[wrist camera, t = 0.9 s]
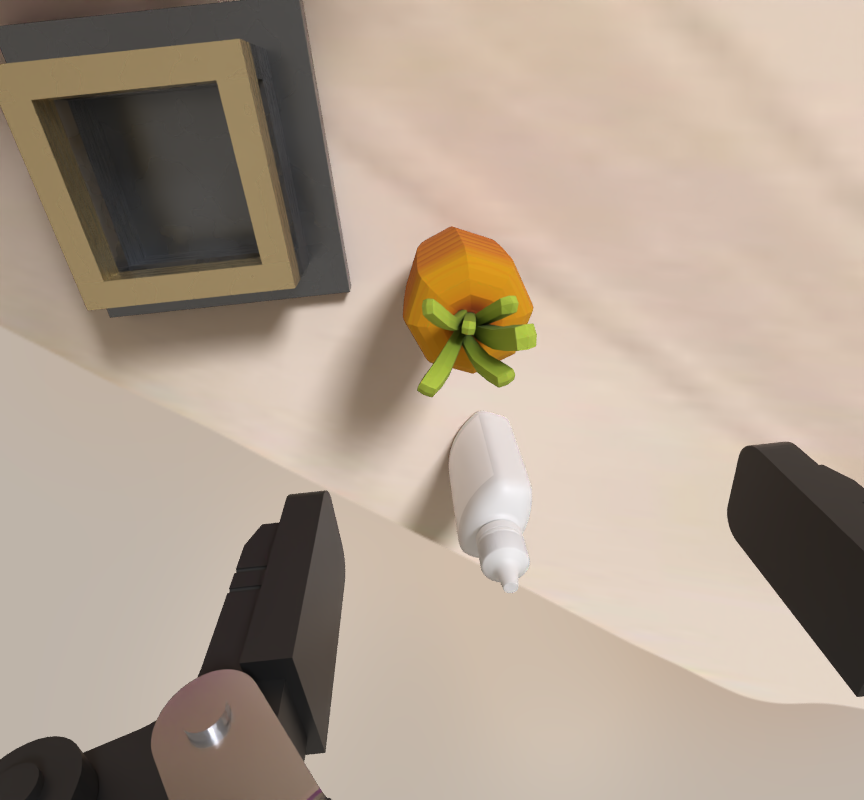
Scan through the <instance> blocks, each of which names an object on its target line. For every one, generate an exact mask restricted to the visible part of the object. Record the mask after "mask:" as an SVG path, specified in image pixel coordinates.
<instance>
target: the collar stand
mask: <svg viewBox="0 0 864 800" xmlns="http://www.w3.org/2000/svg"><path fill="white" fill-rule="evenodd" d="M0 48H1V51H2V53H3V56H4V58H5V61H6V63H7V64H0V106H1V108H2V111H3V113H4V115H5V118H6V120H7V122H8V125H9V127H10V129H11V132H12V134H13V137H14V139H15V141H16V144H17V146H18V148H19V151H20V153H21V155H22V158H23V160H24V162H25V165H26V167H27V169H28V172H29V174H30V176H31V179H32V181H33V183H34V186H35V188H36V191H37V193H38V195H39V198H40V200H41V202H42V205H43V207H44V209H45V212H46V214H47V216H48V219H49V221H50V223H51V226H52V228H53V230H54V233H55V235H56V237H57V240H58V242H59V244H60V247H61V249H62V252H63V254H64V256H65V259H66V261H67V263H68V266H69V268H70V270H71V273H72V275H73V277H74V280H75V282H76V284H77V287H78V289H79V291H80V294H81V296H82V298H83V301H84V303H85V306H86V308H87V310H97V309H107V311H108V313H109V316H110V318H111V317H120V316H129V315H139V314H148V313H157V312H167V311H176V310H185V309H195V308H204V307H213V306H223V305H232V304H241V303H251V302H260V301H269V300H279V299H288V298H297V297H307V296H316V295H325V294H335V293H344V292H350V289H351V282H350V277H349V271H348V265H347V259H346V253H345V247H344V241H343V236H342V230H341V224H340V218H339V212H338V206H337V200H336V195H335V189H334V183H333V177H332V171H331V165H330V159H329V154H328V148H327V142H326V136H325V130H324V124H323V118H322V113H321V107H320V101H319V95H318V89H317V83H316V77H315V72H314V66H313V60H312V54H311V48H310V42H309V36H308V31H307V25H306V19H305V13H304V7H303V1H302V0H240V1H231V2H221V3H212V4H202V5H193V6H184V7H174V8H165V9H155V10H146V11H137V12H127V13H118V14H108V15H99V16H90V17H80V18H71V19H61V20H52V21H43V22H33V23H24V24H14V25H5V26H0Z"/></svg>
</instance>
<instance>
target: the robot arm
mask: <svg viewBox="0 0 864 800" xmlns="http://www.w3.org/2000/svg"><path fill="white" fill-rule="evenodd" d="M727 517H728V523H729V527H730V530H731V532H732V534H733V536H734V538H735V539H736V541H737V542H738V544H739V545H740V546H741V547H742V549H743V550H744V551H745V553H746V554H747V555H748V557H749V558H750V559H751V560H752V562H753V563H754V564H755V566H756V567H757V568H758V569H759V571H760V572H761V573H762V575H763V576H764V577H765V579H766V580H767V581H768V582H769V584H770V585H771V586H772V588H773V589H774V590H775V592H776V593H777V594H778V595H779V597H780V598H781V599H782V601H783V602H784V603H785V604H786V606H787V607H788V608H789V610H790V611H791V612H792V614H793V615H794V616H795V617H796V619H797V620H798V621H799V623H800V624H801V625H802V627H803V628H804V629H805V630H806V632H807V633H808V634H809V636H810V637H811V638H812V639H813V641H814V642H815V643H816V645H817V646H818V647H819V649H820V650H821V651H822V652H823V654H824V655H825V656H826V658H827V659H828V660H829V661H830V663H831V664H832V665H833V667H834V668H835V669H836V671H837V672H838V673H839V674H840V676H841V677H842V678H843V680H844V681H845V682H846V684H847V685H848V686H849V687H850V689H851V690H852V691H853V693H854V694H855V695H856V696H857V697H862V696H864V488H863V487H862V486H860V485H859V484H858V483H857V482H856V481H854V480H852V479H850V478H848V477H846V476H844V475H842V474H840V473H838V472H836V471H834V470H832V469H830V468H828V467H827V466H825V465H818V464H817V463H816V462H815V461H814V460H812V459H811V458H810V457H809V456H808V455H807V454H805V453H804V452H803V451H802V450H801V449H800V448H798V447H797V446H796V445H795V444H793V443H791V442H778V443H769V444H760V445H751V446H746V447H744V448H743V449H742V450H741V452H740V455H739V458H738V463H737V467H736V472H735V476H734V480H733V485H732V489H731V494H730V498H729V503H728V508H727ZM344 583H345V560H344V552H343V547H342V542H341V538H340V534H339V529H338V525H337V521H336V517H335V513H334V508H333V504H332V500H331V497H330V494H329V492H328V491H327V490H326V491H317V492H308V493H299V494H290V495H288V496H287V498H286V502H285V505H284V508H283V512H282V515H281V519H280V522H279V523H271V524H263V525H261V526H260V528H259V529H258V530H257V531H256V532H255V534H254V535H253V536H252V537H251V538H250V539H249V541H248V542H247V543H246V544H245V545H244V548H243V551H242V554H241V556H240V559H239V562H238V565H237V568H236V573H235V574H234V576H233V579H232V582H231V585H230V588H229V589H230V592H229V593H228V594H227V596H226V599H225V602H224V605H223V608H222V611H221V613H220V616H219V619H218V622H217V625H216V628H215V631H214V634H213V636H212V639H211V642H210V645H209V648H208V651H207V653H206V656H205V659H204V662H203V665H202V669H201V670H200V673H199V675H198V677H197V678H196V679H194V680H193V681H191V682H189V683H188V684H187V685H185V686H184V687H183V688H181V689H180V690H179V691H178V692H177V693H176V694H175V695H174V696H173V697H172V698H171V699H170V700H169V701H168V703H167V704H166V705H165V707H164V708H163V710H162V711H161V713H160V715H159V717H158V718H157V720H156V721H155V722H153V723H151V724H150V725H147V726H146V727H143V728H141V729H139V730H137V731H134V732H132V733H130V734H127V735H125V736H122V737H120V738H118V739H115V740H113V741H110V742H108V743H106V744H103V745H101V746H98V747H96V748H94V749H91V750H89V751H86V752H84V753H82V751H81V750H80V749H79V747H78V746H77V744H75V743H74V742H73V741H72V740H70V739H67V738H64V737H57V736H54V737H46V738H41V739H38V740H35V741H32V742H30V743H27V744H25V745H23V746H21V747H19V748H17V749H15V750H14V751H12V752H11V753H9V754H7V755H6V756H4V757H3V758H2V759H0V800H331V799H330V798H327V797H326V796H325V795H324V793H323V792H322V791H321V789H320V787H319V786H318V784H317V783H316V781H315V779H314V778H313V776H312V774H311V773H310V771H309V770H308V768H307V766H306V764H305V763H304V760H305V755H309V754H318V753H325V751H326V742H327V733H328V724H329V715H330V707H331V698H332V688H333V681H334V672H335V663H336V654H337V645H338V636H339V628H340V619H341V610H342V601H343V592H344Z"/></svg>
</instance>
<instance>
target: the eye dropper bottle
mask: <svg viewBox="0 0 864 800" xmlns="http://www.w3.org/2000/svg"><path fill="white" fill-rule="evenodd" d="M449 477H450V484H451V492H452V499H453V506H454V513H455V520H456V527H457V534H458V540H459V544H460V547H461V549H462V550H463V552H465V553H466V554H468V555H470V556H473V557H477V558H479V560H480V565H481V570H482V572H483V574H484V575H485V576H486V577H487V578H489V579H491V580H493V581H496V582H500V583H501V585H502V587H503V589H504V591H505V592H507V593H513V592H515V591H517V589H518V578H520V577H521V576H522V575H524V574H525V572H526V571H527V570H528V568H529V564H530V559H529V555H528V551H527V548H526V544H525V541H524V537H523V532H524V530H525V528H526V526H527V523H528V520H529V516H530V512H531V506H532V488H531V484H530V480H529V477H528V474H527V471H526V468H525V465H524V462H523V459H522V456H521V453H520V450H519V447H518V444H517V441H516V439H515V436H514V433H513V430H512V427H511V424H510V422H509V419H508V418H506V417H505V416H502V415H499V414H495V413H492V412H489V411H478V412H476V413H475V414H474V415H472V416H471V417H470V418H469V419H468V420H467V421H466V423H465V424H464V425H463V426H462V428H461V429H460V430H459V432H458V434H457V435H456V437H455V439H454V442H453V444H452V447H451V451H450V456H449Z"/></svg>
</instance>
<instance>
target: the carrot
mask: <svg viewBox="0 0 864 800" xmlns="http://www.w3.org/2000/svg"><path fill="white" fill-rule="evenodd" d="M532 311H533V305H532V302H531V300H530V298H529V295H528V293H527V291H526V289H525V286H524V284H523V282H522V280H521V277H520V275H519V273H518V271H517V268H516V266H515V264H514V262H513V260H512V258H511V257H510V256H509V255H508V254H507V253H506V251H505V250H504V249H503V248H502V247H501V246H500V245H499V244H498V243H496V242H495V241H494V240H492V239H489V238H486V237H483V236H480V235H477V234H474V233H471V232H467V231H464V230H461V229H458V228H455V227H449V228H447V229H445V230H443V231H441V232H440V233H438V234H436V235H434V236H432V237H430V238H429V239H427V240H425V241H424V242H422V243H421V244H420V245H419V247H418V248H417V251H416V255H415V258H414V261H413V265H412V268H411V271H410V275H409V278H408V282H407V285H406V290H405V296H404V307H403V319H404V321H405V323H406V325H407V326H408V328H409V330H410V331H411V333H412V335H413V337H414V338H415V340H416V342H417V343H418V345H419V347H420V349H421V350H422V352H423V354H424V355H425V357H426V359H427V360H428V361H429V362H431V363H433V365H432V366H431V368H430V369H429V371H428V372H427V373H426V375H425V376H424V377H423V379H422V380H421V382H420V384H419V386H418V389H417V391H419V392H420V393H422V394H423V395H426V396H429V397H433V396H434V395H435V394H436V393H437V392H438V390H439V389H440V388H441V387H442V386H443V384H444V383H445V381H446V380H447V378H448V377H449V375H450V372H451V370H452V368H454V369H457V370H461V371H465V372H469V373H475V372H478V373H479V374H480V375H481V376H482V377H484V378H485V379H486V380H487V381H489V382H490V383H492V384H494V385H495V386H497V387H502V386H505V385H508V384H509V383H510V382H512V381H513V380H514V377H515V373H514V370H513V369H512V368H510V367H509V366H507V365H506V364H504V363H503V362H501V361H500V360H502V359H504V358H506V357H508V356H511V355H513V354H515V352H516V351H519V350H527V349H530V348H533V347H535V346H536V337H537V334H536V331H535V327H534V324H527V323H528V321H529V318H530V316H531V314H532Z"/></svg>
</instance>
